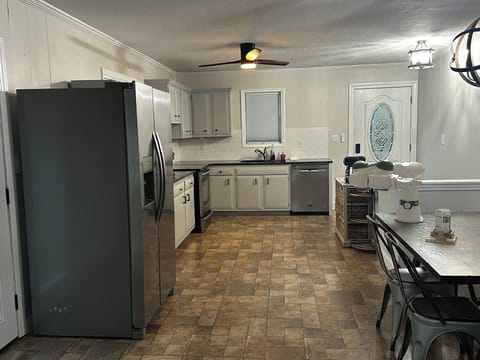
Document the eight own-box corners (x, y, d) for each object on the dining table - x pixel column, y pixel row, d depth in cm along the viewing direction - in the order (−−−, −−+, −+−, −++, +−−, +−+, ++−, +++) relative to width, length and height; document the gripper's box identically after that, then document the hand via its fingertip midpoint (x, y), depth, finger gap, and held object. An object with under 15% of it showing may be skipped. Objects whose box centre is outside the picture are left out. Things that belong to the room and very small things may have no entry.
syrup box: (441, 236, 232) (442, 210, 231) (434, 234, 238) (435, 208, 236) (450, 235, 234) (451, 210, 232) (442, 233, 240) (443, 208, 238)
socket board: (429, 234, 244) (430, 224, 243) (456, 237, 237) (457, 227, 236) (425, 241, 229) (425, 231, 228) (454, 244, 222) (454, 234, 221)
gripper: (398, 185, 255) (423, 186, 248) (391, 189, 237) (417, 191, 230) (398, 175, 254) (423, 176, 247) (391, 178, 237) (418, 179, 230)
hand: (420, 183), depth 239 cm, fingers open, 8 cm apart
